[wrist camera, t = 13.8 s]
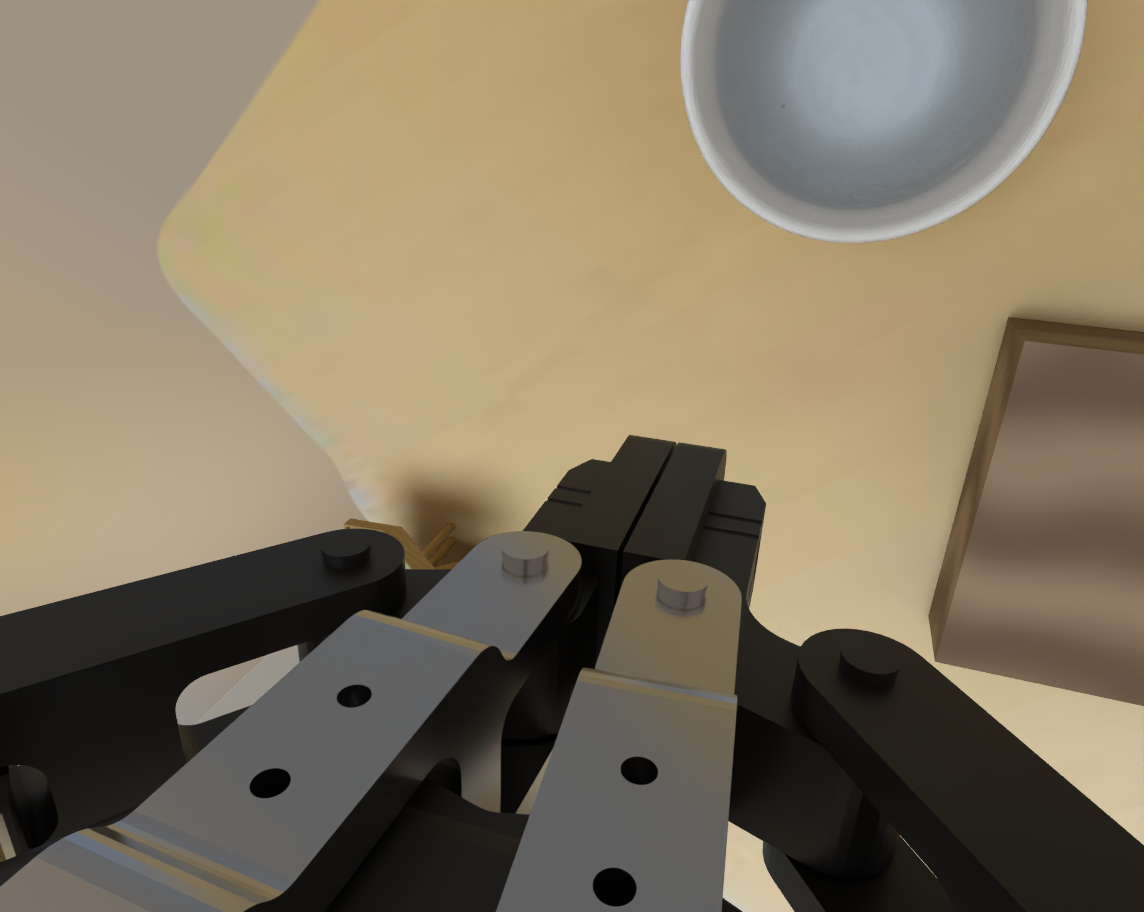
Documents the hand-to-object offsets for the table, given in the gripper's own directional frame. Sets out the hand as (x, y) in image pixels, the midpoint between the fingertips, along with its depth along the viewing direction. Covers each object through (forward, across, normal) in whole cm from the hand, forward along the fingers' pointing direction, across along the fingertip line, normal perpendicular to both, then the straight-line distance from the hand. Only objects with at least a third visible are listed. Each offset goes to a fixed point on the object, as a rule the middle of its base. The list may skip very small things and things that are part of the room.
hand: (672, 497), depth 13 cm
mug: (+29, -2, -8) cm, 30 cm away
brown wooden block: (+29, -16, +11) cm, 35 cm away
